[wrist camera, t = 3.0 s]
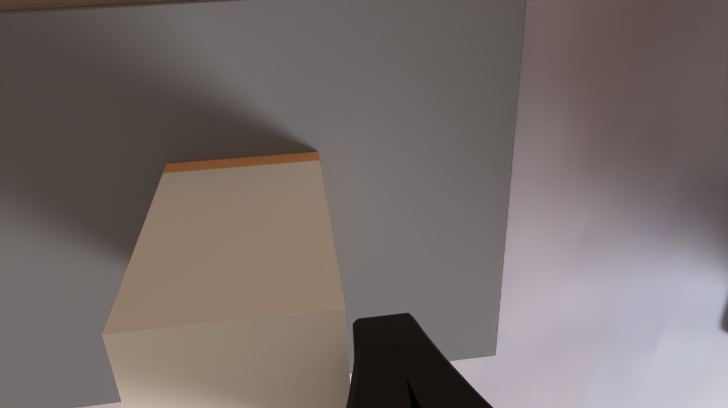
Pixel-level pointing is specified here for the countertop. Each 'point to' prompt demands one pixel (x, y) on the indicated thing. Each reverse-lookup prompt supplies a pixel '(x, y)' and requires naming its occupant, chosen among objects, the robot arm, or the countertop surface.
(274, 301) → the tall block
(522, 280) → the countertop surface
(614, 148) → the countertop surface
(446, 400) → the robot arm
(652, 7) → the countertop surface
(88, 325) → the mat
